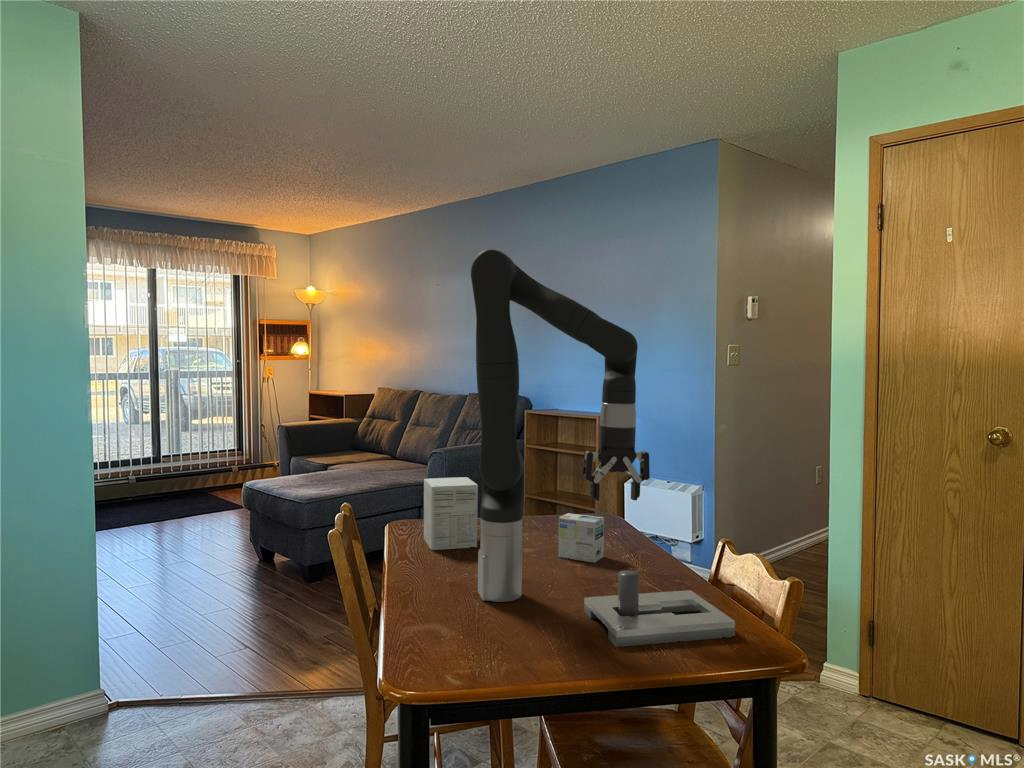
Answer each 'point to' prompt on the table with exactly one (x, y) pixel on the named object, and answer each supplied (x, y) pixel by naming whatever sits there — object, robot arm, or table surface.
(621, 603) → the headed peg
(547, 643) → the table surface
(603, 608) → the keyhole plate
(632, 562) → the table surface
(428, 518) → the supplement box
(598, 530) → the light bulb box
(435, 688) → the table surface
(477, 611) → the table surface
